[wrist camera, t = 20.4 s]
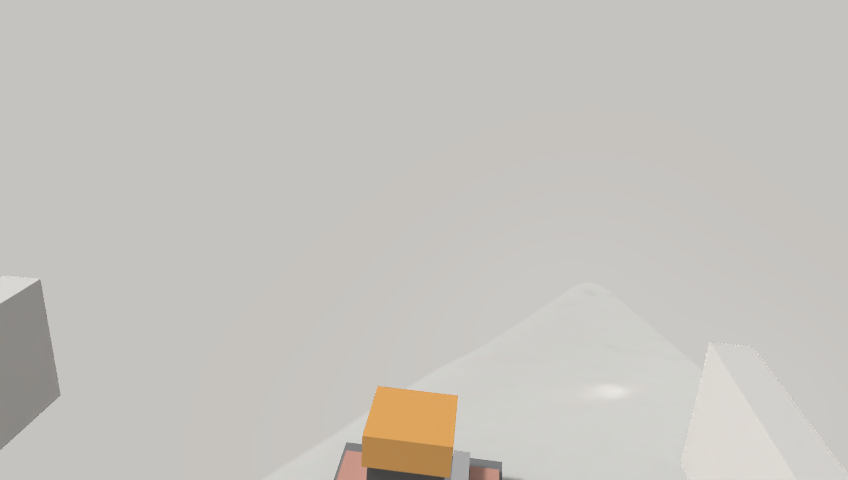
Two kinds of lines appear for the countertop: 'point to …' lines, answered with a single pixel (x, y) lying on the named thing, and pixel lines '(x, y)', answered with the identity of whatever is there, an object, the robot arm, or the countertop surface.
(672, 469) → the countertop surface
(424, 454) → the breaker handle
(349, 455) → the grey base
